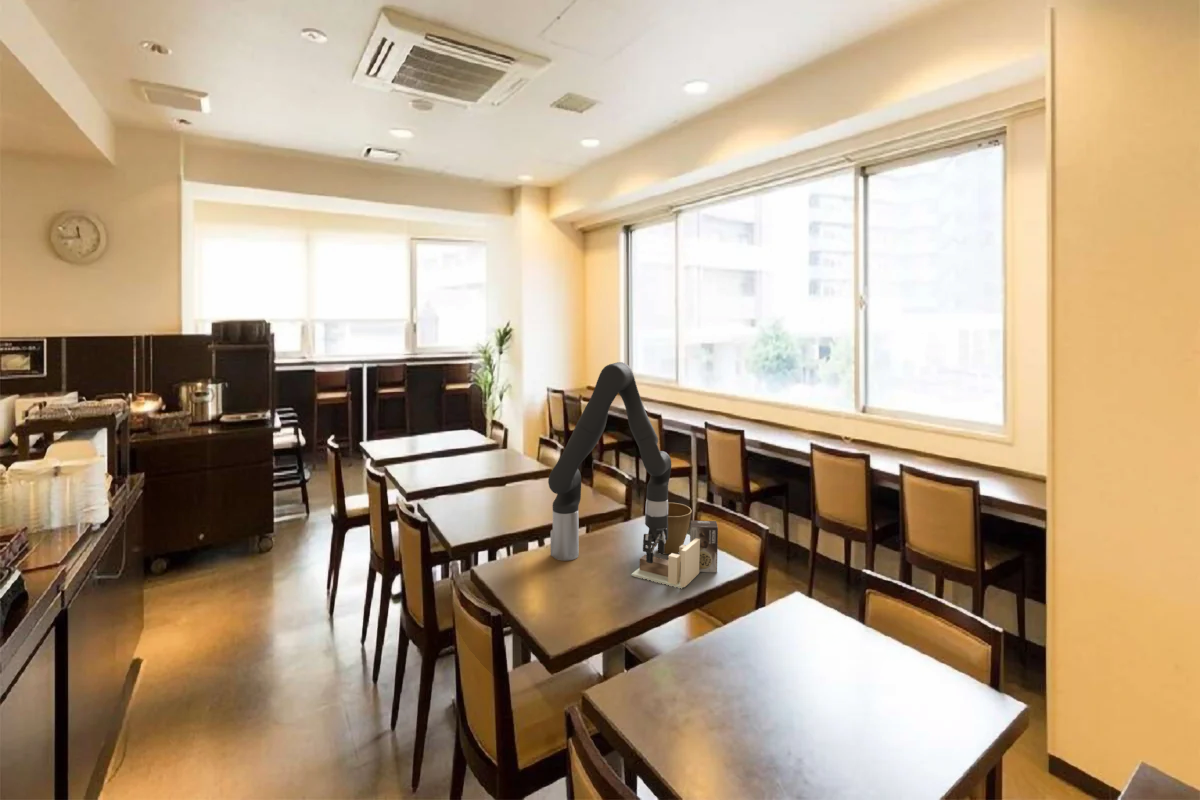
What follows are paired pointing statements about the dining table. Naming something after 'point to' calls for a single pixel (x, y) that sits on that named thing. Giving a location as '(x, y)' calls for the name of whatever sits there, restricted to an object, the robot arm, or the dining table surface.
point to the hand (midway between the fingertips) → (655, 558)
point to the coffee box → (706, 543)
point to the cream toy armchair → (677, 567)
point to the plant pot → (677, 526)
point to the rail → (655, 566)
